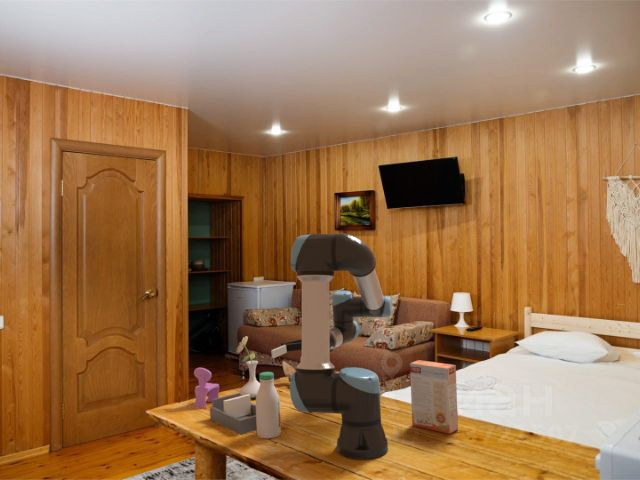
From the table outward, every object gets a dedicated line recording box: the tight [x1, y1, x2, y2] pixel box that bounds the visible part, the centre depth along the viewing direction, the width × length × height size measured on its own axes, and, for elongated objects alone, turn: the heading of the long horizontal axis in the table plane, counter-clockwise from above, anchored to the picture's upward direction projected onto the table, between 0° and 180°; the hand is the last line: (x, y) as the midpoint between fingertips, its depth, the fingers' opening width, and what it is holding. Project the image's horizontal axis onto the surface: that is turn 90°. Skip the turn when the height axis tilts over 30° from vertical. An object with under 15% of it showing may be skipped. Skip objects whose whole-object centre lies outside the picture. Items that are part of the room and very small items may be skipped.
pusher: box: [223, 394, 252, 418], centre depth 188 cm, size 2×10×7 cm, turn 130°
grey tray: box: [209, 392, 257, 435], centre depth 186 cm, size 20×13×7 cm, turn 40°
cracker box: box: [409, 359, 459, 435], centre depth 174 cm, size 14×6×21 cm, turn 47°
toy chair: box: [192, 367, 220, 410], centre depth 207 cm, size 8×9×15 cm
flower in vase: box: [235, 335, 260, 399], centre depth 216 cm, size 13×11×25 cm
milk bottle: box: [255, 371, 282, 439], centre depth 173 cm, size 8×8×20 cm
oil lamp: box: [282, 360, 297, 383], centre depth 227 cm, size 9×21×10 cm, turn 53°
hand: (286, 357), depth 177 cm, fingers open, 13 cm apart
